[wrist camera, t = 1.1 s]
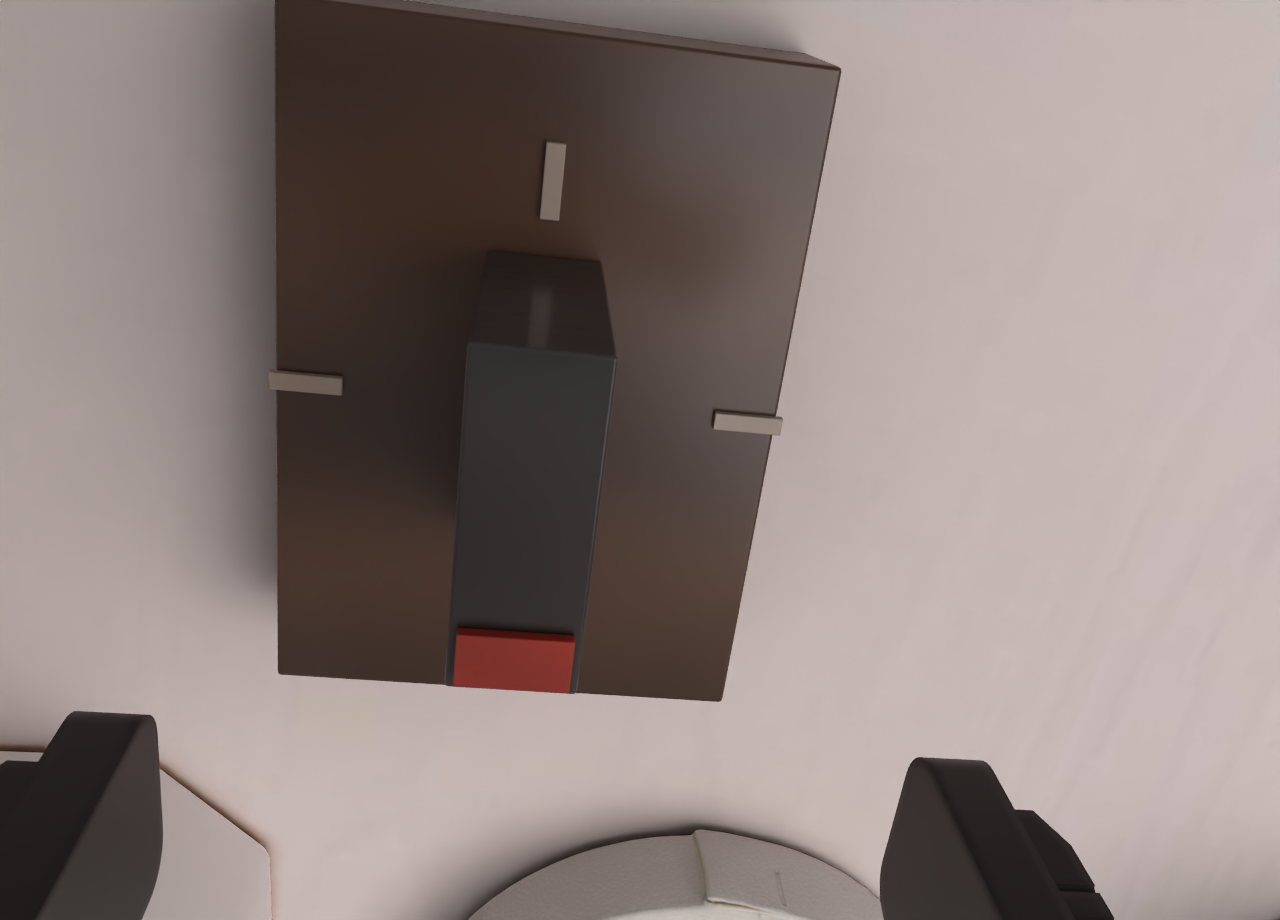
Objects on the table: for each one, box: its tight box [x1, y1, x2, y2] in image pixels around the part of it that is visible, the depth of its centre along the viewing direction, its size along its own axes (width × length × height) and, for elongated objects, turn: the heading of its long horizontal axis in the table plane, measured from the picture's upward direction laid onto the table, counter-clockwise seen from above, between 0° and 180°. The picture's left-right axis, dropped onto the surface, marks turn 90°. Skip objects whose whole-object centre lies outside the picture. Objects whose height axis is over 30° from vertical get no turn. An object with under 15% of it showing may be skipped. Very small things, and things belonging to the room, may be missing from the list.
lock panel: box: [268, 0, 841, 702], centre depth 24 cm, size 14×10×3 cm
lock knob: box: [444, 251, 619, 694], centre depth 20 cm, size 6×2×6 cm, turn 173°
